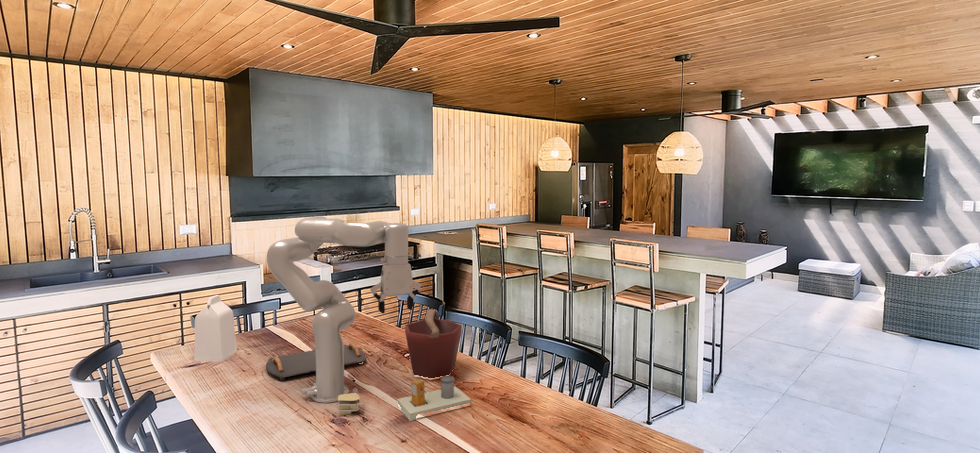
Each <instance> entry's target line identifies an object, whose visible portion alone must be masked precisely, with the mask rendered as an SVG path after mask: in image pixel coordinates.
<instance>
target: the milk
mask: <svg viewBox="0 0 980 453" xmlns="http://www.w3.org/2000/svg"><path fill="white" fill-rule="evenodd" d="M237 348H238V347H237V339H236V328H235V317H234V311H233V309H232V308H230V306H228V305H227V304H226V303H224V302H223V301H222V299H221V296H220V295H219V294H216V295H213V296H210V297H208V298H207V304H205V305H204V306H203V308H202V309H201V310H200V312H198V313H197V314H196V316H195V317H194V362H212V363H213V362H217V363H218V362H220V363H222V362H224V361H225V360H227V359H228V358H230V357H231V356H232V355H234V354H235V353H237V352H238V349H237Z"/></svg>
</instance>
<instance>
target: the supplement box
mask: <svg viewBox="0 0 980 453" xmlns="http://www.w3.org/2000/svg"><path fill="white" fill-rule="evenodd" d="M410 387H411V388H410V389H411V390H410V391H411V392H410V393H411V396H412V405H413V406H414V407H418V406H422V405H425V393H426V392H425V381H424V380H423V379H420V378H416V379H414V380H412V381H411V382H410Z"/></svg>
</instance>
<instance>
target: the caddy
mask: <svg viewBox="0 0 980 453" xmlns="http://www.w3.org/2000/svg"><path fill="white" fill-rule="evenodd" d="M397 402H398V404H399V405H400V407H401V410H402V411H401V410H400V411H401V412H402V413H403V415H404V416H405V417H406V418H407V419H408V421H409V422H412V421H416V420H415V419H416V416H417V415H418V414H421V413H427V412H432V411H438V410H441V409H446V408H450V407H454V406H458V405H463V404H467V403H471V404H472V399H471V398H470V397H469V396H468V395H467V394H465V393H464V392H463V391H462V390H461V389H459V388H458V387H457V386H455V376H452V375H450V376H443V377H441V379H440V389H437V390H432V391H428V392H427V391H426V392H425V404H426V405H422V406H418V407H414V406H413V405H412V395H410V396H404V397H400V398H397V399H396V403H397Z"/></svg>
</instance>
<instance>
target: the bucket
mask: <svg viewBox="0 0 980 453" xmlns="http://www.w3.org/2000/svg"><path fill="white" fill-rule="evenodd" d="M424 318H425V319H420V320H419V319H418V320H417V321H413V322H410V323H407V324H405V326H404V330H405V332H404V333H405V338H406V344H407V349H408V354H409V359H410V364H411V369H412V370H413V371H412V375H413V374H414V375H419V376H423V377H428V378H435V377H440V376H446V375H449V374H450V373H451V372H452V370H453V369H454V370H455V367H456V362H457V356H458V352H459V346H460V342H461V337H462V330H463V328H462V324H459V323H457V322H455V321H452V320H449V319H439V312H438V310H437V309H428V311H427V312H426V314H425V317H424ZM452 373H453V372H452ZM414 375H413V376H414Z"/></svg>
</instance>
